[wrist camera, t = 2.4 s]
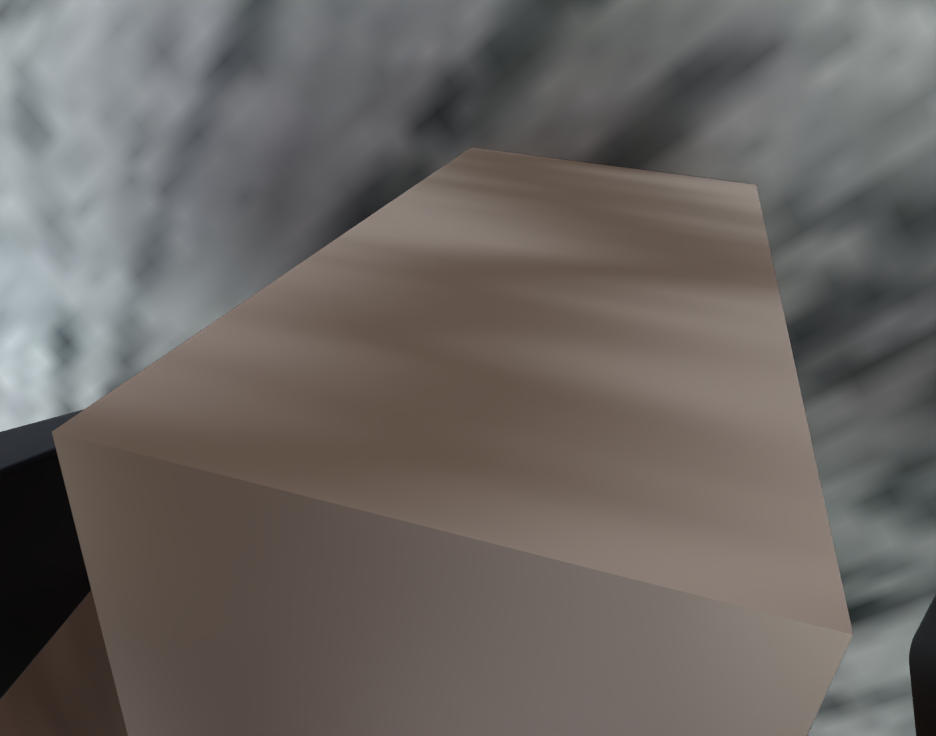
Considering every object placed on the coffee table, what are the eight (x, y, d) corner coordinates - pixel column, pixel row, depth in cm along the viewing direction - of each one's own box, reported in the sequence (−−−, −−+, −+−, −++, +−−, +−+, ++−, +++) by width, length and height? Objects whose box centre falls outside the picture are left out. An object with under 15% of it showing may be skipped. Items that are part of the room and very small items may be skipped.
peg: (756, 185, 12) (853, 633, 4) (692, 432, 15) (666, 1047, 6) (471, 147, 13) (51, 432, 5) (455, 383, 16) (155, 848, 7)
